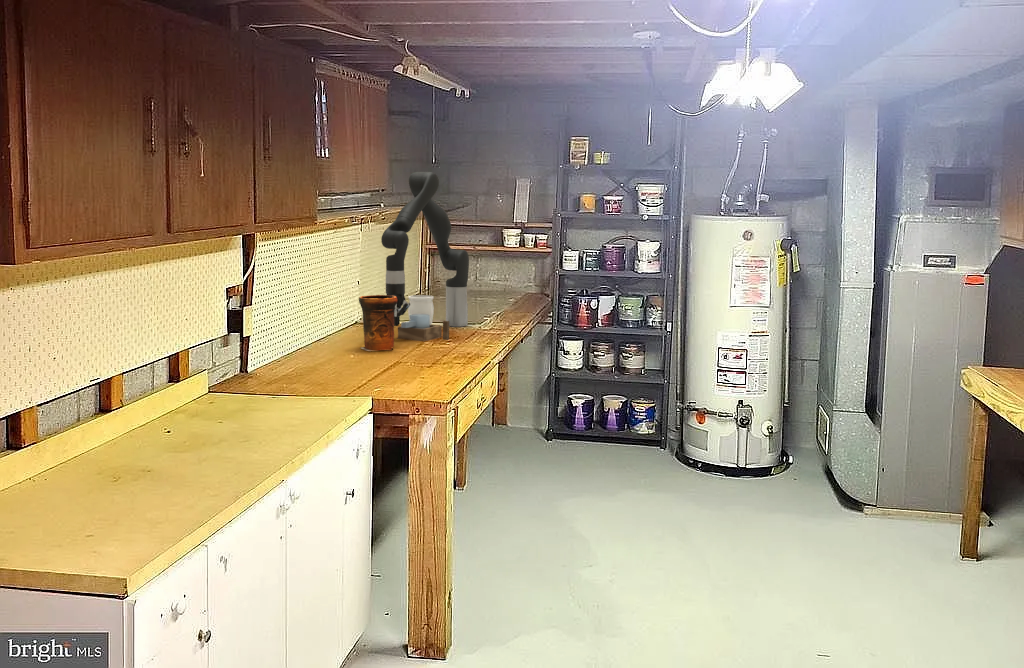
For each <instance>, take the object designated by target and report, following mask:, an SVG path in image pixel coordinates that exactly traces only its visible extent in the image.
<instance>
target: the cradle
mask: <svg viewBox="0 0 1024 668" xmlns="http://www.w3.org/2000/svg"><path fill="white" fill-rule="evenodd" d="M439 338H442V340H446V341H447V340H450V326H449V321H446V320H443V321H442V325H438V324H431V325H430V327H429V328H424V329H420V328H410V327H409V328H401V325H400V326H397V337H396V339H399V340H408V341H415V342H417V341H418V342H427V341H431V340H435V339H439Z"/></svg>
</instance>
